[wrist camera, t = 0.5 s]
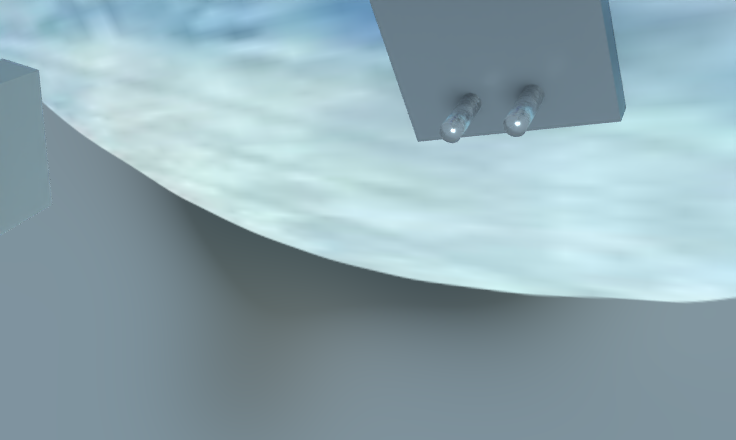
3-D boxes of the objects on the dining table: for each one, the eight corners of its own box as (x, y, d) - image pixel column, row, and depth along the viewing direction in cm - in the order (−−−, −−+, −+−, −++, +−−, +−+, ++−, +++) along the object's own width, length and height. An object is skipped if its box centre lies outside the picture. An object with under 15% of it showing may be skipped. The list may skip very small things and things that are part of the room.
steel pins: (491, -136, 30) (465, -119, 27) (546, 103, 35) (529, 135, 33) (400, -105, 32) (368, -86, 30) (464, 113, 38) (442, 143, 35)
